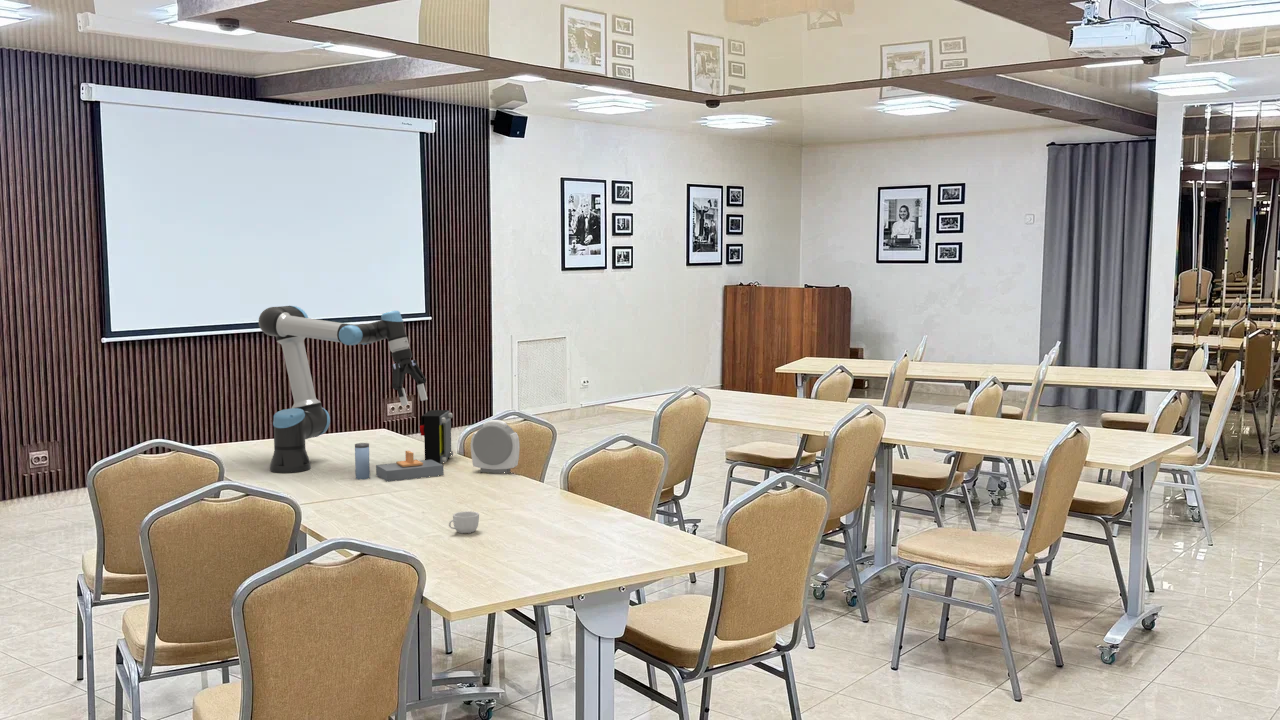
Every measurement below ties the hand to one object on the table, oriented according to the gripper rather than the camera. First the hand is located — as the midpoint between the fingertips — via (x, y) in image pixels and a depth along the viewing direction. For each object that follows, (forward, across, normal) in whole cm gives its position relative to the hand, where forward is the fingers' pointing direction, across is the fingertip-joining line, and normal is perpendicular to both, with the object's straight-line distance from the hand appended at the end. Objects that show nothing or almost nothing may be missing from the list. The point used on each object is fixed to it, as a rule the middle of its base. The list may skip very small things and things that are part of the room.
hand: (414, 402), depth 409 cm
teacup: (+43, -78, -57) cm, 106 cm away
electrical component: (+26, +19, +10) cm, 33 cm away
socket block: (+26, -10, +4) cm, 29 cm away
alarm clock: (+34, +7, -22) cm, 42 cm away
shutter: (+22, -10, +3) cm, 25 cm away
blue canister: (+22, -21, +17) cm, 35 cm away
